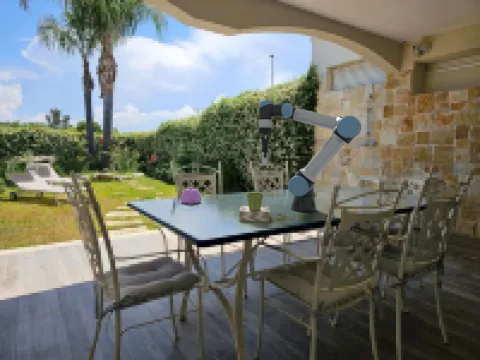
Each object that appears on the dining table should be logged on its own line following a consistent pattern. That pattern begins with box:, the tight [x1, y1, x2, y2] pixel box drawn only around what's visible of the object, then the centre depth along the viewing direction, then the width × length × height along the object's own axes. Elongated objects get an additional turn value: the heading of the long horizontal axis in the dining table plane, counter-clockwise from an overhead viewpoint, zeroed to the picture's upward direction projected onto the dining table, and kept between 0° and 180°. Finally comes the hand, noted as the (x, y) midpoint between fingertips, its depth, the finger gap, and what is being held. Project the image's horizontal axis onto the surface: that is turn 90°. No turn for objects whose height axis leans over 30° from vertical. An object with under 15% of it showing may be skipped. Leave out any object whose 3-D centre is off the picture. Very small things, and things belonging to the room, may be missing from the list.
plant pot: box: [246, 192, 265, 211], centre depth 192 cm, size 9×9×9 cm
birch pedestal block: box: [238, 205, 271, 222], centre depth 196 cm, size 16×16×5 cm
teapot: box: [180, 186, 202, 205], centre depth 245 cm, size 14×20×11 cm
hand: (264, 163), depth 216 cm, fingers open, 13 cm apart
